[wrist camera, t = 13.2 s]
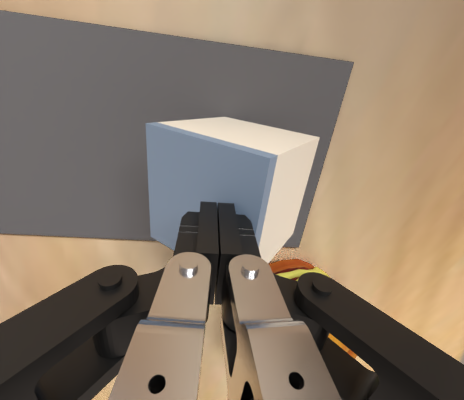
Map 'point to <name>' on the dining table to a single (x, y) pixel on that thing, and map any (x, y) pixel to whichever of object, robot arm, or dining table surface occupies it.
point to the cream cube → (227, 175)
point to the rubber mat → (133, 116)
